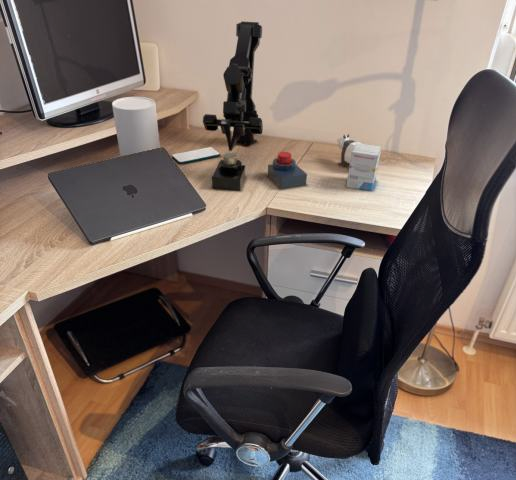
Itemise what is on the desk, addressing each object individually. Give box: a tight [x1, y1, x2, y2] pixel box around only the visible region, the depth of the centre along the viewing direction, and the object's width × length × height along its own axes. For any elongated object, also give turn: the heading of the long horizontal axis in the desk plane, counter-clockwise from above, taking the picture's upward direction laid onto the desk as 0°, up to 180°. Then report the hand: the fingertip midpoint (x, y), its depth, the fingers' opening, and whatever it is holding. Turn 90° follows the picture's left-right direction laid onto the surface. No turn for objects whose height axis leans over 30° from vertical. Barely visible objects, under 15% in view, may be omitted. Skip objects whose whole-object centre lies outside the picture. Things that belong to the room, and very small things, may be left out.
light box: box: [211, 159, 246, 192], centre depth 161 cm, size 12×9×6 cm
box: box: [267, 157, 308, 190], centre depth 164 cm, size 12×9×6 cm
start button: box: [277, 151, 292, 165], centre depth 163 cm, size 4×4×3 cm
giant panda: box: [336, 134, 363, 167], centre depth 173 cm, size 15×6×10 cm, turn 29°
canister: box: [111, 96, 161, 157], centre depth 165 cm, size 14×14×20 cm
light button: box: [222, 152, 238, 166], centre depth 161 cm, size 4×4×3 cm
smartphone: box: [171, 146, 221, 165], centre depth 178 cm, size 8×1×16 cm
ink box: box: [345, 142, 382, 192], centre depth 161 cm, size 9×8×12 cm
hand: (230, 150), depth 159 cm, fingers closed
